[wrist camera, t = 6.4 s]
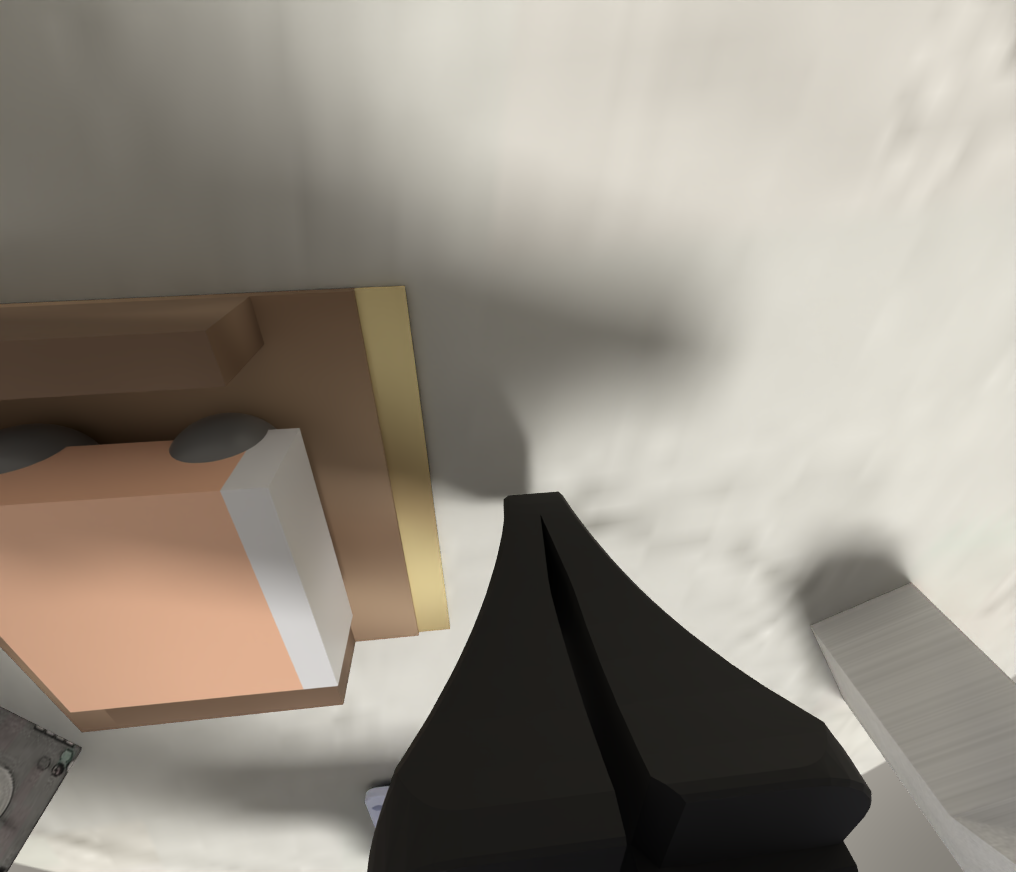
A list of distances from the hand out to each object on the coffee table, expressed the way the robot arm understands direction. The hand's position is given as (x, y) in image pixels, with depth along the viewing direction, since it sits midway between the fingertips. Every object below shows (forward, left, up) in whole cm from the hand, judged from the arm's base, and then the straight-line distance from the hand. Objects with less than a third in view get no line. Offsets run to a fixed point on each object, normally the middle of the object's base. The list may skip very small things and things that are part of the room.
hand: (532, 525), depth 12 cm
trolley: (0, +8, -1) cm, 8 cm away
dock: (0, +8, -2) cm, 8 cm away
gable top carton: (-9, -14, -2) cm, 17 cm away
